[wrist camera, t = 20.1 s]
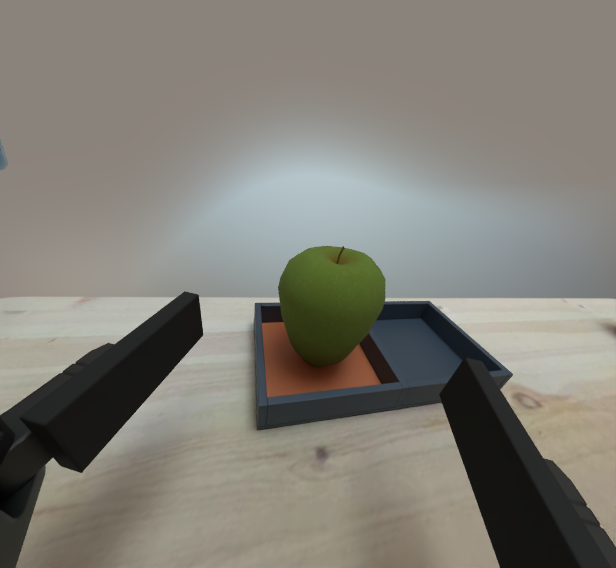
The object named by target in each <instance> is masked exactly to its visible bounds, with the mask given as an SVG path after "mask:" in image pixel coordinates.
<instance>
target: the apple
mask: <svg viewBox="0 0 616 568" xmlns="http://www.w3.org/2000/svg"><path fill="white" fill-rule="evenodd" d="M278 290H279V298H280V307H281V315H282V318H283V322H284V325H285V328H286V331H287V334H288V337H289V340H290V343H291V345H292V347H293V348H294V350H295V351H296V352H297V353H298V354H299V355H300V356H301V357H302V358H303V359H304V360H305V361H306V362H307V363H308V364H310V365H312V366H314V367H324V366H328V365H332V364H336V363H339V362H341V361H343V360H344V359H345V358H346V357H347V356H348V355H349V354H350V353H351V352H352V351H353V350H354V349H355V348H356V347H357V345H358V344H359V343H360V342H361V341H362V340H363V339H364V338H365V337H366V336H367V335H368V333H369V331H370V330H371V328H372V326H373V325H374V323H375V321H376V319H377V318H378V316H379V314H380V313H381V311H382V309H383V305H384V301H385V278H384V276H383V274H382V272H381V270H380V269H379V267H378V266H377V265H376V264H375V262H374V261H373V260H372V259H371V258H370V257H369V256H367V255H366V254H364V253H362V252H359V251H355V250H352V249H347V248H344V247H342V248H341V247H332V246H321V247H314V248H309V249H307V250H305V251H303V252H302V253H300V254H298V255H296V256H295V257H294V258H292V259H291V260H289V262H288V264H287V266H286V268H285V270H284V272H283V274H282V276H281V278H280V282H279V286H278Z"/></svg>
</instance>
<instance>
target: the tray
mask: <svg viewBox="0 0 616 568" xmlns="http://www.w3.org/2000/svg"><path fill="white" fill-rule="evenodd" d="M254 331H255V367H256V403H257V430H261V429H268V428H274V427H281V426H288V425H294V424H301V423H308V422H314V421H321V420H327V419H334V418H341V417H347V416H354V415H361V414H367V413H374V412H380V411H387V410H394V409H400V408H407V407H413V406H420V405H427V404H433V403H440V402H442V401H441V398H440V396H439V394H440V392H441V391H442V390H443V388H444V387H445V385H446V384H447V382H448V381H449V379H450V378H451V377H452V375H453V374H454V372H455V371H456V369H457V368H458V366H459V365H460V363H461V362H462V361H463V359H464V358H465V357H466V358H470V359H474V360H479V361H482V362H483V363H484V365H485V366H486V368H487V370H488V371H489V373H490V374H491V376H492V378H493V379H494V381H495V382H496V384H497V386H498V387H499V389H501V388H502V387H503V386H504V385H505V383H506V382H507V381H508V380H509V379H510V378H511V377H512V376H513V374H512V373H511V372H510V371H509V370H508V369H506V368H505V367H504V366H503V365H502V364H501V363H500V362H498V361H497V360H496V359H495V358H494V357H493V356H492V355H490V354H489V353H488V352H487V351H486V350H485V349H484V348H482V347H481V346H480V345H479V344H478V343H477V342H476V341H474V340H473V339H472V338H471V337H470V336H469V335H468V334H466V333H465V332H464V331H463V330H462V329H461V328H460V327H458V326H457V325H456V324H455V323H454V322H453V321H452V320H450V319H449V318H448V317H447V316H446V315H445V314H444V313H442V312H441V311H440V310H439V309H438V308H437V307H436V306H434V305H433V304H432V303H431V302H430V301H391V302H384V305H383V309H382V311H381V313H380V314H379V316H378V318H377V319H376V321H375V323H374V325H373V326H372V328H371V330H370V331H369V333H368V335H367V336H366V337H365V338H364V339H363V340H362V341H361V342H360V343H359V344H358V345H357V347H356V348H355V349H354V350H353V351H352V352H351V353H350V354H349V355H348V356H347V357H346V358H345V359H344V360H343V361H341V362H339V363H336V364H332V365H328V366H324V367H314V366H312V365H310V364H308V363H307V362H306V361H305V360H304V359H303V358H302V357H301V356H300V355H299V354H298V353H297V352H296V351H295V350H294V348H293V347H292V345H291V343H290V340H289V337H288V334H287V331H286V328H285V325H284V322H283V318H282V315H281V307H280V303H255V317H254Z"/></svg>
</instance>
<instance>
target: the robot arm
mask: <svg viewBox="0 0 616 568" xmlns="http://www.w3.org/2000/svg"><path fill="white" fill-rule="evenodd" d="M7 165H8V163H7V159H6V156H5V152H4V149H3V146H2V144H1V141H0V170H3V169H5V168H6V167H7ZM202 336H203V328H202V320H201V311H200V303H199V295H197V294H193V293H189V292H183V293H182V294H181V295H179V296H178V297H177V298H175V299H174V300H173V301H171V302H170V303H169V304H168V305H166V306H165V307H164V308H162V309H161V310H160V311H158V312H157V313H156V314H154V315H153V316H152V317H150V318H149V319H148V320H146V321H145V322H144V323H142V324H141V325H140V326H138V327H137V328H136V329H135V330H133V331H132V332H131V333H129V334H128V335H127V336H125V337H124V338H123V339H121V340H120V341H119V342H117V343H116V344H115V345H114V344H110V343H107V344H105V345H103V346H101V347H99V348H97V349H94V350H92V351H90V352H89V353H88V354H86V355H85V356H83V357H82V358H81V359H79V360H78V361H76V363H75V364H72V365H71V366H69V367H68V368H67V369H65V370H64V371H63V373H61V374H58V375H57V376H55V377H54V378H53V379H51V380H50V381H48V382H47V383H46V384H44V385H43V386H41V387H40V388H39V389H37V390H36V391H34V392H33V393H32V394H30V395H29V396H27V397H26V398H25V399H23V400H22V401H20V402H19V403H18V404H16V405H15V406H13V407H12V408H11V409H9V410H8V411H6V412H5V413H3V414H1V415H0V568H15V567H16V564H17V561H18V558H19V555H20V552H21V548H22V545H23V542H24V539H25V536H26V533H27V529H28V526H29V523H30V520H31V517H32V514H33V510H34V507H35V504H36V501H37V498H38V495H39V492H40V488H41V485H42V482H43V479H44V476H45V468H46V466H45V465H46V464H47V463H48V462H49V461H50V460H51V459H52V458H54V459H55V460H56V461H57V462H58V464H59V465H60V466H62V467H65V468H68V469H71V470H74V471H77V472H80V473H82V472H83V471H84V469H85V468H86V467H87V466H88V465H89V464H90V463H91V462H92V460H93V459H94V458H95V457H96V456H97V455H98V454H99V453H100V451H101V450H102V449H103V448H104V447H105V446H106V445H107V443H108V442H109V441H110V440H111V439H112V438H113V437H114V436H115V434H116V433H117V432H118V431H119V430H120V429H121V428H122V426H123V425H124V424H125V423H126V422H127V421H128V420H129V419H130V417H131V416H132V415H133V414H134V413H135V412H136V411H137V409H138V408H139V407H140V406H141V405H142V404H143V403H144V402H145V400H146V399H147V398H148V397H149V396H150V395H151V394H152V392H153V391H154V390H155V389H156V388H157V387H158V386H159V385H160V383H161V382H162V381H163V380H164V379H165V378H166V377H167V375H168V374H169V373H170V372H171V371H172V370H173V369H174V368H175V366H176V365H177V364H178V363H179V362H180V361H181V360H182V358H183V357H184V356H185V355H186V354H187V353H188V352H189V351H190V349H191V348H192V347H193V346H194V345H195V344H196V343H197V342H198V340H199V339H200V338H201V337H202ZM439 396H440V398H441V401H442V404H443V407H444V410H445V413H446V415H447V418H448V421H449V424H450V427H451V430H452V432H453V435H454V438H455V441H456V444H457V447H458V449H459V452H460V455H461V458H462V461H463V464H464V466H465V469H466V472H467V475H468V478H469V481H470V483H471V486H472V489H473V492H474V495H475V498H476V500H477V503H478V506H479V509H480V512H481V515H482V517H483V520H484V523H485V526H486V529H487V532H488V534H489V537H490V540H491V543H492V546H493V549H494V551H495V554H496V557H497V560H498V563H499V566H500V568H616V547H615V545H614V544H613V542H612V541H611V539H610V538H609V536H608V535H607V533H606V532H605V530H604V529H602V528H601V527H600V523H599V521H598V520H597V518H596V517H595V515H594V514H593V512H592V511H591V510H590V509H589V508H588V507H587V506H586V502H585V501H584V499H583V498H582V496H581V495H580V493H579V492H578V490H577V489H576V487H575V486H574V484H573V483H572V481H571V480H570V479H569V478H568V477H567V476H566V475H565V474H564V473H563V472H562V471H561V469H560V468H559V467H558V466H557V465H556V464H555V463H554V462H553V461H551V460H548V459H544V458H543V457H542V456H541V454H540V453H539V451H538V449H537V448H536V446H535V445H534V443H533V441H532V440H531V438H530V437H529V435H528V433H527V432H526V430H525V429H524V427H523V425H522V424H521V422H520V421H519V419H518V417H517V416H516V414H515V413H514V411H513V409H512V408H511V406H510V405H509V403H508V402H507V400H506V398H505V397H504V395H503V394H502V392H501V390H500V389H499V387H498V386H497V384H496V382H495V381H494V379H493V378H492V376H491V374H490V373H489V371H488V370H487V368H486V366H485V365H484V363H483V362H482V361H479V360H474V359H470V358H466V357H465V358H464V359H463V361H462V362H461V363H460V365H459V366H458V368H457V369H456V371H455V372H454V374H453V375H452V377H451V378H450V379H449V381H448V382H447V384H446V385H445V387H444V388H443V390H442V391H441V392H440V394H439Z"/></svg>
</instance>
